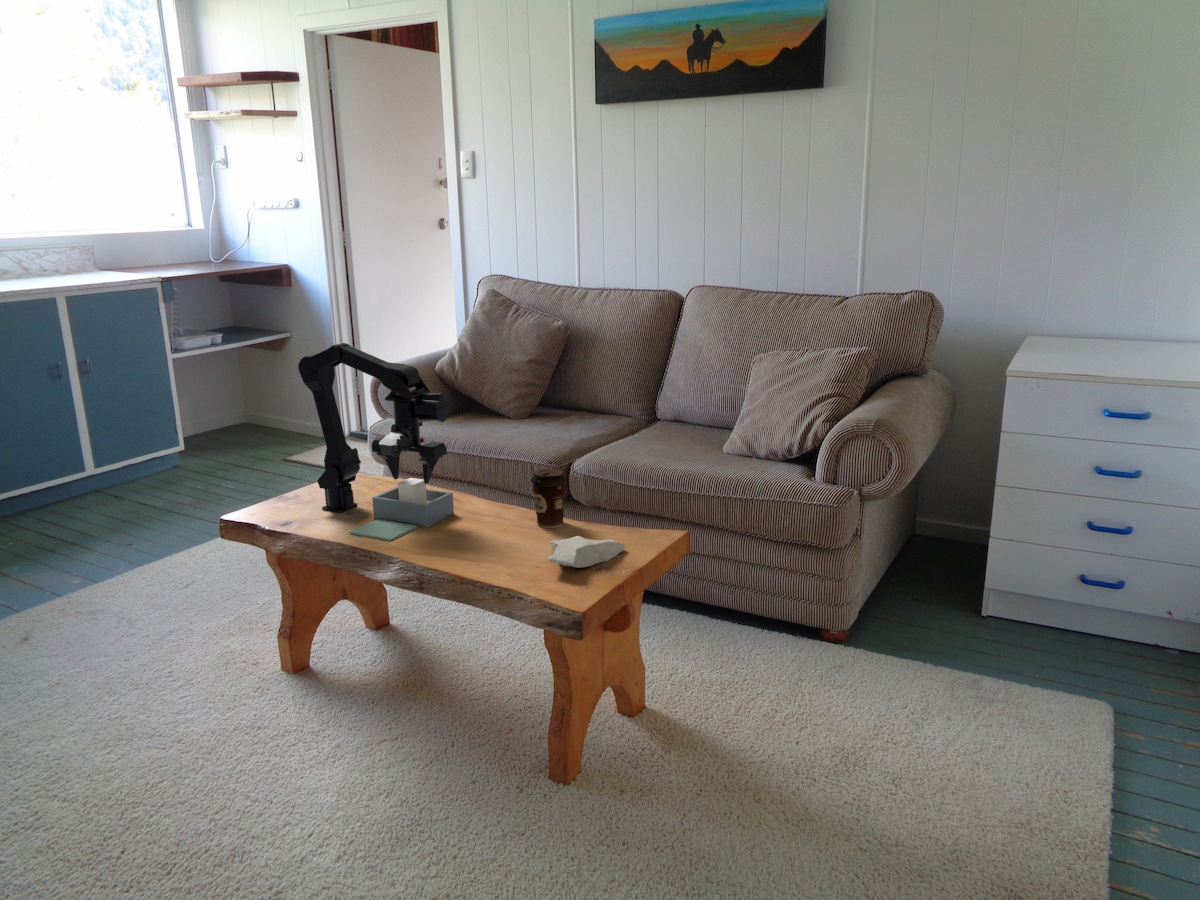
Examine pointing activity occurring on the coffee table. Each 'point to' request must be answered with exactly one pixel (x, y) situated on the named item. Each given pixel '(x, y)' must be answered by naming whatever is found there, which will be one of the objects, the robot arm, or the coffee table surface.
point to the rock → (583, 551)
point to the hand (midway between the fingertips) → (411, 481)
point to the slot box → (413, 508)
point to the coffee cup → (549, 497)
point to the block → (412, 490)
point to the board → (384, 530)
